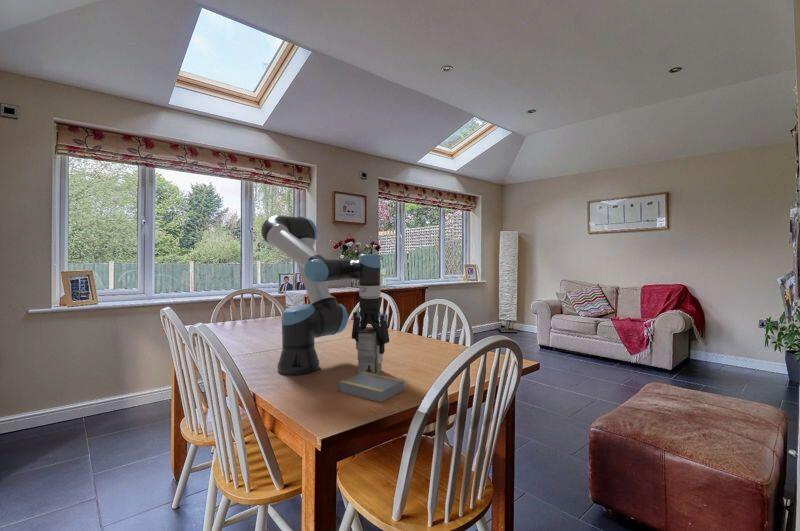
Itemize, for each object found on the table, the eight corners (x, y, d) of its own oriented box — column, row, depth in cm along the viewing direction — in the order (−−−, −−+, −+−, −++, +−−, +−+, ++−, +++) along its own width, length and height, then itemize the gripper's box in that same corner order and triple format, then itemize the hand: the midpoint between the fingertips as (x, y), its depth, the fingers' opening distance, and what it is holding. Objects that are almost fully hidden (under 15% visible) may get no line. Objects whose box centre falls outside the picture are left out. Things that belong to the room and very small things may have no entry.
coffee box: (365, 369, 142) (365, 326, 141) (382, 370, 141) (381, 327, 140) (357, 377, 133) (357, 331, 132) (375, 378, 132) (375, 332, 131)
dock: (337, 390, 120) (337, 381, 120) (362, 380, 130) (362, 371, 130) (381, 402, 110) (381, 391, 110) (404, 390, 120) (404, 380, 120)
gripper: (340, 296, 139) (341, 358, 139) (387, 300, 127) (387, 368, 128) (354, 294, 145) (354, 354, 145) (400, 298, 133) (400, 362, 134)
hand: (370, 360), depth 137 cm, fingers closed on coffee box, 8 cm apart
